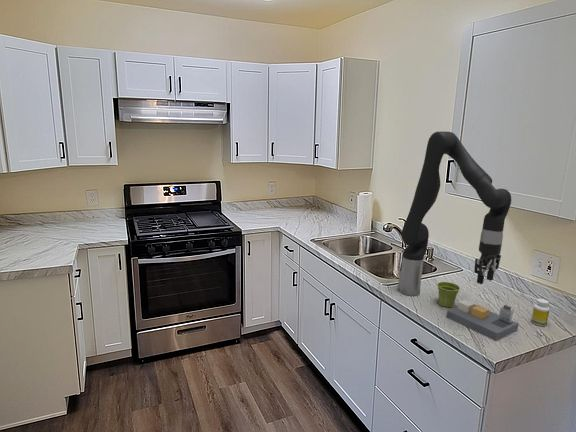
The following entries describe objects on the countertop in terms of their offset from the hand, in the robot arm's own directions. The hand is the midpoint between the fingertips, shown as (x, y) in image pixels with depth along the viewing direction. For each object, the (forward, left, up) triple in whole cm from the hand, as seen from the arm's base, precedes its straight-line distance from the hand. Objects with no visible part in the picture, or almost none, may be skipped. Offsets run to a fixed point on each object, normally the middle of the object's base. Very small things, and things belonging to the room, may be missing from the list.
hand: (484, 281), depth 154 cm
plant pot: (-17, +3, -18) cm, 25 cm away
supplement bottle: (+13, +21, -18) cm, 30 cm away
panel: (+1, 0, -18) cm, 18 cm away
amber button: (0, 0, -16) cm, 16 cm away
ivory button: (-6, 0, -16) cm, 17 cm away
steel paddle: (+8, +4, -14) cm, 17 cm away
